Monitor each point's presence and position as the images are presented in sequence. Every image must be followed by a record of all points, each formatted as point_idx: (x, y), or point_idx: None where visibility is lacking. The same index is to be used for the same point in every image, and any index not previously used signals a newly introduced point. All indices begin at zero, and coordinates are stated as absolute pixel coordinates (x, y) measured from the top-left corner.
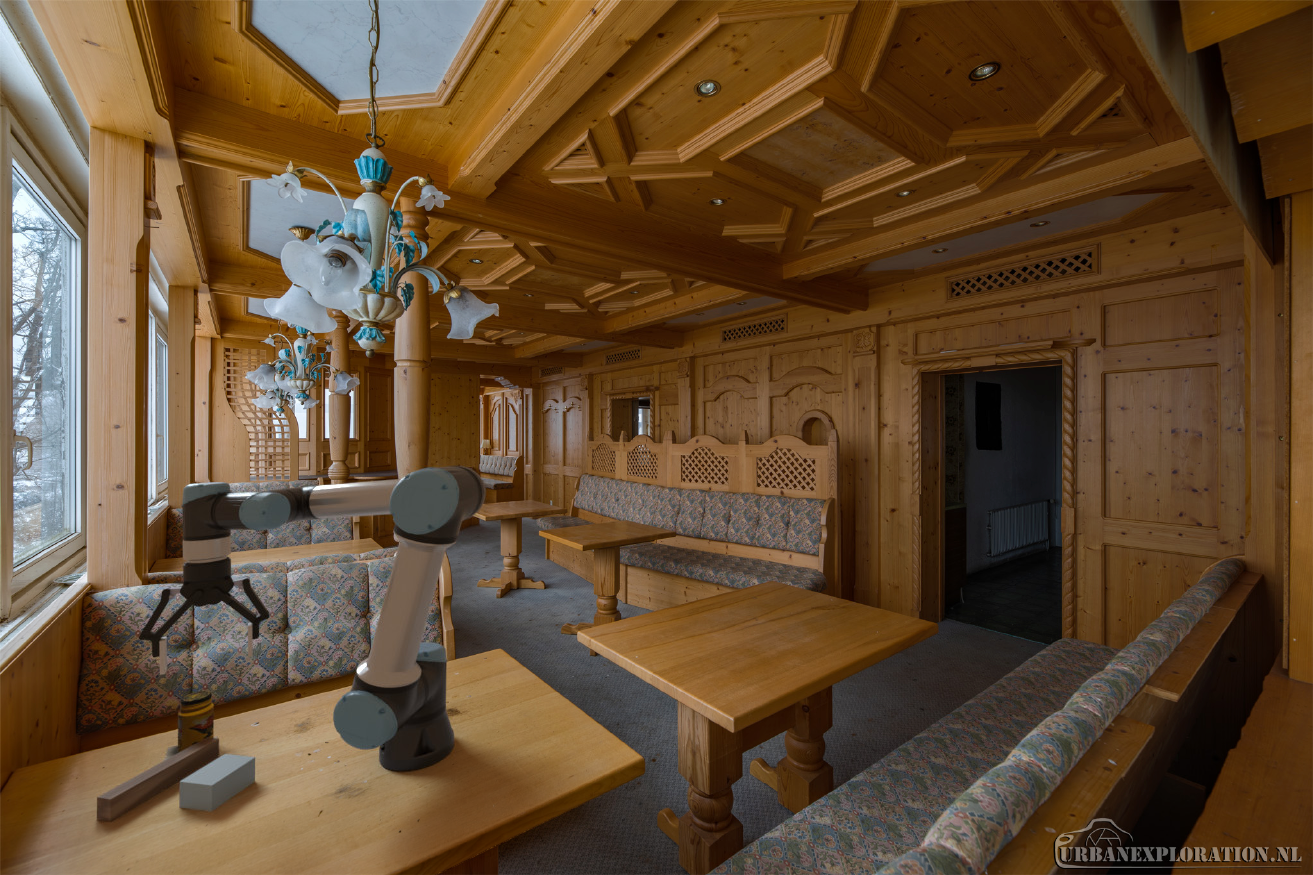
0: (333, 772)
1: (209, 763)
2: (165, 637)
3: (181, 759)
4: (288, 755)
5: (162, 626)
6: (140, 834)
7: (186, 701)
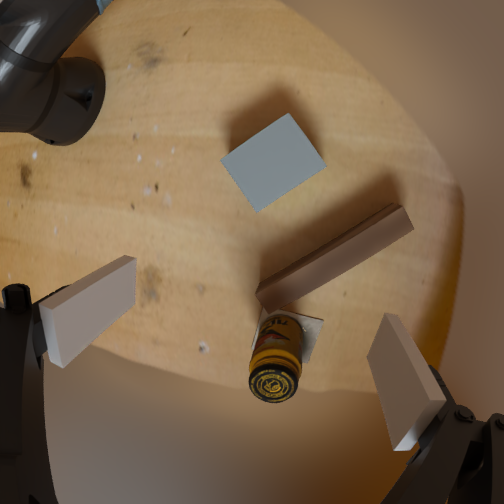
0: (147, 110)
1: (282, 194)
2: (403, 440)
3: (312, 262)
4: (179, 206)
5: (461, 463)
6: (366, 135)
7: (291, 375)
